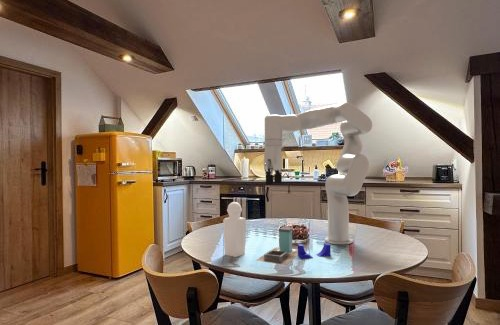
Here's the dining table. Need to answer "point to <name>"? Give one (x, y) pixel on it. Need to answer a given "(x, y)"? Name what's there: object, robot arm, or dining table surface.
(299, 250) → the cable clip
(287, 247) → the plug
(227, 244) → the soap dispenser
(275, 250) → the board
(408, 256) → the dining table surface
